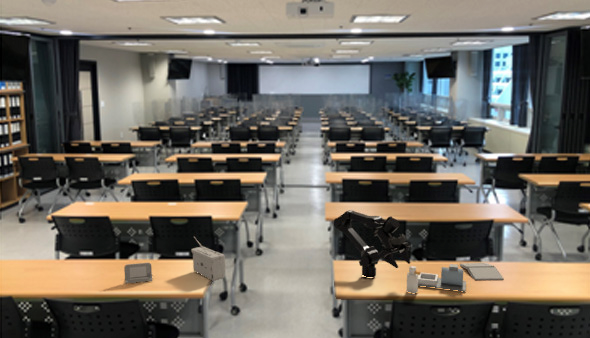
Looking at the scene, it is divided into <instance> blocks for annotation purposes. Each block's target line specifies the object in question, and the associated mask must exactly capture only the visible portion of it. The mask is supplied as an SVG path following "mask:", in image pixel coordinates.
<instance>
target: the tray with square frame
mask: <svg viewBox="0 0 590 338" xmlns="http://www.w3.org/2000/svg"><path fill="white" fill-rule="evenodd" d="M440 273H441V275H440V277H439V274H436V273H428V272H427V273H426V272H421V274H420V275H418V286H426V287H435V288H443V289H450V290H458V291H463V292H462V293H464V292H465V291H466V292H467V290H466V289H467V281H466V280H464V268H459V264H453V263H449V267H444V266H442V267H441V271H440ZM466 292H465V293H466Z"/></svg>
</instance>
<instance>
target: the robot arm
mask: <svg viewBox="0 0 590 338" xmlns="http://www.w3.org/2000/svg"><path fill="white" fill-rule="evenodd" d="M352 221H355V222H358V223H361V224H364V225H365V226H366V227H367V228H369V229H371V230H374V231H373V234H372V235H373V237H376V236H377V237H378V239H379V240H380V242H381V244H380V246H382V247H384V249H382V250H381V251H380V252H379V250H377V249H376V247H375V246H374V245H372V246H368V245H367V243H366V242H365V241H364V240H363V238H362V237H360V235H359V234H358V233H357V232H356V231H355V229H354V228H353V226H352ZM400 226H401V225H400V222H399V220H398V219H396V218H393V216H388V217H387V218H386V219H385V218H383V217H382V216H380V215H368V214H365V213H361V212H357V211H355V210H353V209H351V210H346V211H344V213H343V214H341V215H339V216H338V217H335V218H334V220H333V227H334V228H335V229H337V231H339V232H340V233H343V234H345V236H346V237H347V238H348V239H349V240H350V242H351V243H352V244H353V245H354V246H355V248H357V250H358V251H359V252H360V258H361V259H360V260H359V261H358V262H359V266H360V267H361V276H362V275H364V276H366V277H374V278H375V277H376V276H377V267H376V265H378V263H379V261H383V262H385V263H388V264H389V265H391V266H392V267H394V268H395V269H398V268H399V265H398V264H397V262H396V259H395V258H394V253H399V254H398V255H399V256H400V258H402V259H403V260H404V261H405V262H406V263H407V264H409V265H410V264H411V259H410V255H409V250H410V247H411V245H410V244H409V242H406V241H407V237H406V236H405V234H403V233H402V234H399V235H398V237H395V236H392V235H391V234H393V233H394V232H395V231H397V229H398V228H400Z"/></svg>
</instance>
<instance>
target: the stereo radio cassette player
mask: <svg viewBox="0 0 590 338" xmlns="http://www.w3.org/2000/svg"><path fill="white" fill-rule="evenodd" d="M193 238H194V239H195V240H196V242H197V243H198V245H199V247H197V246H196V247H194V248H191V253H192V266H193V272H194V271H196V272H198V273H200V274H202V275H203V276H202V275H201V276H202V277H204V276H205V277H204V278H206V277H207V278H206V279H208V278H209V279H208V280H210V281H212V282H215V281H219V280H222V279H224V278H226V256H225V254H223V253H221V252H218V251H215V250H213V249H210V248H209V247H206V246H204V245H202V244H201V243H200V242H199V241H198V240H197V238H196V237H195V236H193ZM198 273H197V274H198ZM200 274H199V275H200Z"/></svg>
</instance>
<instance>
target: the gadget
mask: <svg viewBox="0 0 590 338" xmlns="http://www.w3.org/2000/svg"><path fill="white" fill-rule="evenodd" d="M459 266H460V267H461V268H462V269H465V270H467V272H468V273H469V275H470V276H471V278H472V279H473V280H474V279H475V281H504V277H503V275H502V274H501V272H500V271H499V270H498V268H497V267H496V266H495V265H493V264H490V263H488V262H470V263H469V262H467V263H466V262H464V263H463V262H462V263H459Z"/></svg>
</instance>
